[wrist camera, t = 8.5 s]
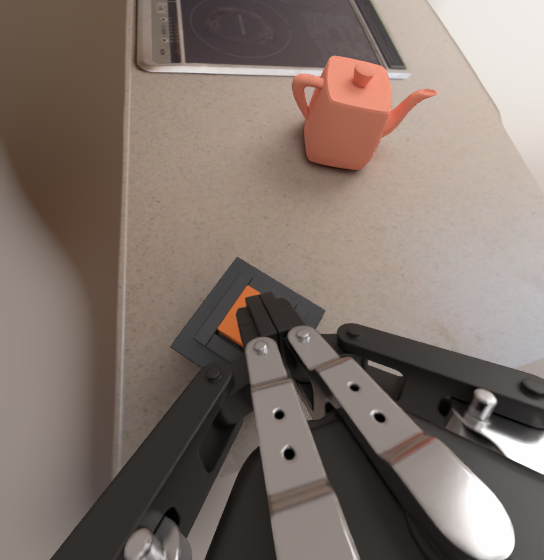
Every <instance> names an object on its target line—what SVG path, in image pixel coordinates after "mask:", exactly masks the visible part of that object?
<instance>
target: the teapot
mask: <svg viewBox="0 0 544 560" xmlns="http://www.w3.org/2000/svg"><path fill="white" fill-rule="evenodd" d="M307 86H310V87H315V90H314V93H313V95H312V98H311V101H310V104H309V107H308V106H307V103H306V99H305V94H304V88H305V87H307ZM292 90H293V95H294V98H295V100H296V102H297V105H298V106H299V108H300V110H301V112H302V114H303V115H304V117H305V126H304V138H305V149H306V154H307V157H308V159H309V160H310V161H312V162H315V163H318V164H323V165H328V166H333V167H338V168H345V169H352V170H359V169H361V168H362V167H364V166H365V165H366V164H367V163H368V162H369V161H370V159H371V158H372V156H373V154H374V152H375V150H376V148H377V146H378V144H379V142H380V140H381V138H382V137H384V136H386V135H388V134H389V133H391V132H392V131H393V130H394V129H395V128H396V127H397V126H398V125H399V124H400V122H401V121H402V120H403V119H404V117H405V116H406V115H407V114H408V112H409V111H410V110H411V109H412V108H413V107H414V106H415V105H416V104H418V103H419V102H421V101H422V100H424V99H426V98H429V97H432V96H434V95H436V94H437V92H436V91H434V90H430V89H422V90H418V91H416V92H414V93H412V94H411V95H409V96H408V97H407V98H406V99H405V100H404V101H403V102H402V103H400V104H399V105H398V106H397V107H396V108H395V109H393V110H392V111H391V106H392V94H391V85H390V81H389V77H388V74H387V71H386V69H385V68H384V67H382V66H379V65H376V64H372V63H368V62H364V61H359V60H355V59H350V58H345V57H339V56H332V57H331V58H330V59H329V61H328V63H327V65H326V66H325V68H324V70H323V72H322V75H321V77H317V76H313V75H309V74H298V75H296V76H295V77H294V79H293V82H292Z"/></svg>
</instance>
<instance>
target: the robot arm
mask: <svg viewBox="0 0 544 560" xmlns="http://www.w3.org/2000/svg"><path fill="white" fill-rule="evenodd" d="M245 302H246V307H242V308H238V310H237V312H236V319H237V324H238V328H239V333H240V338H241V341H242V345H243V348H244V352H243V354H242V355H241V356H240V357H239V358H238V359H237V360H236V361H234V362H233V363H231V364H228V363H226V362H223V361H216V362H212V363H210V364H208V365H206V366H204V367H203V368H202V369H201V370H200V371H199V372H198V374H197V375H196V376H195V377H194V379H193V380H192V381H191V383H190V384H189V385H188V386H187V388H186V389H185V390H184V391H183V393H182V394H181V395H180V396H179V398H178V399H177V400H176V401H175V403H174V404H173V405H172V406H171V408H170V409H169V410H168V412H167V413H166V414H165V415H164V417H163V418H162V419H161V420H160V422H159V423H158V424H157V425H156V427H155V428H154V429H153V430H152V432H151V433H150V434H149V435H148V437H147V438H146V439H145V441H144V442H143V443H142V444H141V446H140V447H139V448H138V449H137V451H136V452H135V453H134V454H133V456H132V457H131V458H130V459H129V461H128V462H127V463H126V464H125V466H124V467H123V468H122V470H121V471H120V472H119V473H118V475H117V476H116V477H115V478H114V480H113V481H112V482H111V484H110V485H109V486H108V487H107V488H106V490H105V491H104V492H103V493H102V495H101V496H100V497H99V499H98V500H97V501H96V502H95V504H94V505H93V506H92V508H91V509H90V510H89V511H88V512H87V514H86V515H85V516H84V518H83V519H82V520H81V521H80V523H79V524H78V525H77V526H76V528H75V529H74V530H73V532H72V533H71V534H70V535H69V536H68V538H67V539H66V540H65V541H64V543H63V544H62V545H61V546H60V548H59V549H58V550H57V552H56V553H55V554H54V555H53V557H52V558H51V559H50V560H192V553H191V548H190V545H189V542H188V540H187V539H186V538H187V536H188V534H189V532H190V530H191V528H192V526H193V524H194V522H195V520H196V518H197V516H198V514H199V512H200V510H201V508H202V505H203V503H204V501H205V499H206V497H207V495H208V493H209V491H210V489H211V487H212V485H213V483H214V481H215V479H216V477H217V475H218V473H219V471H220V468H221V466H222V464H223V462H224V460H225V458H226V456H227V454H228V452H229V450H230V448H231V446H232V444H233V442H234V440H235V438H236V436H237V434H238V431H239V429H240V427H241V425H242V423H243V419H244V417H245V416H246V415H247V414H249V413H250V412H251V411H253V410H254V415H255V421H256V427H257V433H258V440H259V446H258V447H257V448H256V449H255V450H254V451H253V452H252V453H251V454H250V456H249V457H248V458H247V460H246V461H245V463H244V464H243V466H242V468H241V470H240V471H239V473H238V476H237V478H236V480H235V483H234V486H233V488H232V491H231V493H230V496H229V498H228V501H227V503H226V506H225V509H224V511H223V514H222V516H221V519H220V521H219V524H218V526H217V529H216V532H215V534H214V537H213V539H212V542H211V544H210V547H209V550H208V552H207V555H206V557H205V560H544V379H542V378H540V377H538V376H535V375H532V374H529V373H525V372H522V371H519V370H515V369H512V368H509V367H505V366H502V365H498V364H495V363H491V362H488V361H484V360H481V359H477V358H474V357H470V356H467V355H463V354H460V353H456V352H453V351H449V350H446V349H442V348H439V347H435V346H432V345H428V344H425V343H421V342H418V341H415V340H411V339H408V338H404V337H401V336H397V335H394V334H390V333H387V332H383V331H380V330H376V329H373V328H369V327H366V326H362V325H359V324H353V323H349V324H344V325H342V326H340V327H339V328H338V330H337V334H319V333H318V332H317V331H316V330H315V329H314V328H312V327H309V326H306V325H305V323H304V322H303V320H302V319H301V318H300V316H299V315H298V313H297V312H296V311H295V309H294V308H293V307H292V305H291V304H290V302H289V301H288V300H286V299H284V298H278V299H276V298H275V296H274V295H273V293H272V292H271V291H270V292H266V293H262V294H258V295H253V296H249V297H245ZM368 360H370V361H373V362H376V363H378V364H381V365H384V366H387V367H389V368H392V369H395V370H397V371H399V372H400V373H401V374H402V375H403V376H396V375H394V374H391V373H388V372H385V371H383V370H380V369H377V368H375V367H372V366H369V365H368ZM286 369H289V370H290V372H291V377H288V375H287V372H286ZM296 390H297V392H298V394H299V396H300V397H301V399H302V401H303V403H304V405H305V406H306V408H307V410H308V412H309V413H310V415H311V417H312V420H308V421H307V420H306V417H305V414H304V411H303V409H302V406H301V403H300V400H299V398H298V395H297V392H296Z"/></svg>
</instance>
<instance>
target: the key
mask: <svg viewBox="0 0 544 560" xmlns="http://www.w3.org/2000/svg"><path fill="white" fill-rule="evenodd" d="M258 294H261V293H260V292H258V291H256V290H255V289H253V288H251V287H250V286H248V285H247V286H246V287H245V289H244V290H243V292H242V293H241V295H240V296H239V297H238V299H237V300H236V302H235V303H234V305H233V306H232V308H231V309H230V311H229V312H228V313H227V315H226V316H225V318H224V319H223V321H222V322H221V324H220V325H219V327H218V328H217V329H218V331H219V332H220V333H221V334H222V335H224V336H225V337H227V338H228V339H230V340H232V341H233V342H235V343H236V344H238V345H239V346H241V347H242V348H243V345H242V341H241V338H240V333H239V328H238V324H237V319H236V312H237V310H238V308H242V307H246V302H245V297H249V296H253V295H258Z"/></svg>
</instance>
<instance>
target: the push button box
mask: <svg viewBox="0 0 544 560" xmlns="http://www.w3.org/2000/svg"><path fill="white" fill-rule="evenodd" d="M247 285H248V286H250V287H251V288H253V289H255V290H256V291H258V292H260V293H261V294H262V293H266V292H270V291H271V292H272V293H273V295H274V296H275V298H276V299H278V298H284V299H286V300H288V301H289V302H290V304H291V305H292V307H293V308H294V309H295V311H296V312H297V313H298V315H299V316H300V318H301V319H302V320H303V322H304V323H305V325H306V326H309V327H312V328H314V329H315V330H316V328H317V326H318V324H319V322H320V320H321V318H322V316H323V314H324V312H325V310H324V309H322V308H321V307H319V306H317V305H316V304H314V303H312V302H311V301H309V300H307V299H306V298H304V297H303V296H301V295H299V294H298V293H296V292H294V291H293V290H291V289H289V288H288V287H286V286H284V285H283V284H281V283H279V282H278V281H276V280H275V279H273V278H271V277H270V276H268V275H266V274H265V273H263V272H261V271H260V270H258V269H256V268H255V267H253V266H251V265H250V264H248V263H247V262H245V261H243V260H242V259H240V258H238V257H237V258H236V259H235V260H234V262H233V263H232V264H231V266H230V267H229V268H228V270H227V271H226V272H225V274H224V275H223V276H222V278H221V279H220V280H219V282H218V283H217V284H216V286H215V287H214V288H213V290H212V291H211V292H210V294H209V295H208V296H207V298H206V299H205V300H204V302H203V303H202V304H201V306H200V307H199V309H198V310H197V311H196V313H195V314H194V315H193V317H192V318H191V319H190V321H189V322H188V323H187V325H186V326H185V327H184V329H183V330H182V331H181V333H180V334H179V335H178V337H177V338H176V339H175V341H174V342H173V343H172V345H171V346H170V347H171V348H172V349H174V350H175V351H177V352H178V353H180V354H181V355H183V356H184V357H186V358H187V359H189V360H190V361H192V362H193V363H195V364H196V365H198V366H199V367H201V368H203V367H204V366H206V365H208V364H210V363H212V362H216V361H223V362H226V363H228V364H231V363H233V362H234V361H236V360H237V359H238V358H239V357H240V356H241V355H242V354H243V352H244V348H242V347H241V346H239V345H238V344H236V343H235V342H233V341H232V340H230V339H228V338H227V337H225V336H224V335H222V334H221V333H220V332H219V331H218V329H217V328H218V327H219V325H220V324H221V322H222V321H223V319H224V318H225V316H226V315H227V313H228V312H229V311H230V309H231V308H232V306H233V305H234V303H235V302H236V300H237V299H238V297H239V296H240V295H241V293H242V292H243V290H244V289H245V287H246V286H247ZM286 372H287V375H288V377H291V372H290V370H289V369H286Z"/></svg>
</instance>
